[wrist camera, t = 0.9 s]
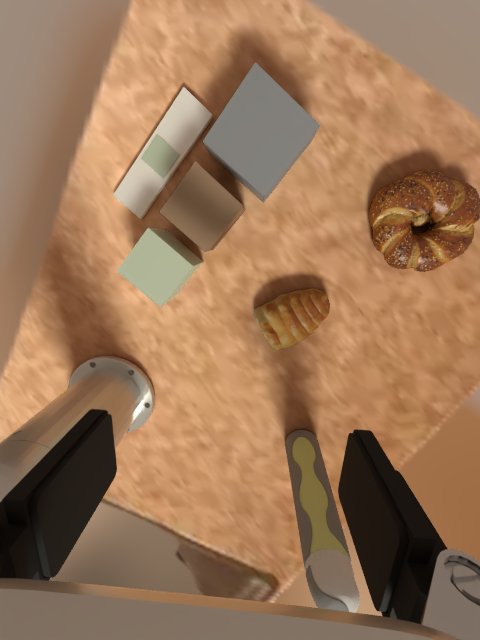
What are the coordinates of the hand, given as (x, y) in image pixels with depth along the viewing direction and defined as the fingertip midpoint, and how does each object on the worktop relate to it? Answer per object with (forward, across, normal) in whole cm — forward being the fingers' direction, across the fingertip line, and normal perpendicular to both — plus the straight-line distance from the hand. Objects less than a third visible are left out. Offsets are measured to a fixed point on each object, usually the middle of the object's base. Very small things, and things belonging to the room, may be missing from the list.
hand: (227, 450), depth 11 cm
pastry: (+27, -5, +1) cm, 27 cm away
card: (+26, +11, -16) cm, 33 cm away
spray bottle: (+27, -9, +21) cm, 35 cm away
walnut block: (+27, +5, -11) cm, 29 cm away
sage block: (+27, +10, -4) cm, 29 cm away
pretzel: (+27, -19, -11) cm, 35 cm away
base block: (+27, 0, -18) cm, 32 cm away
